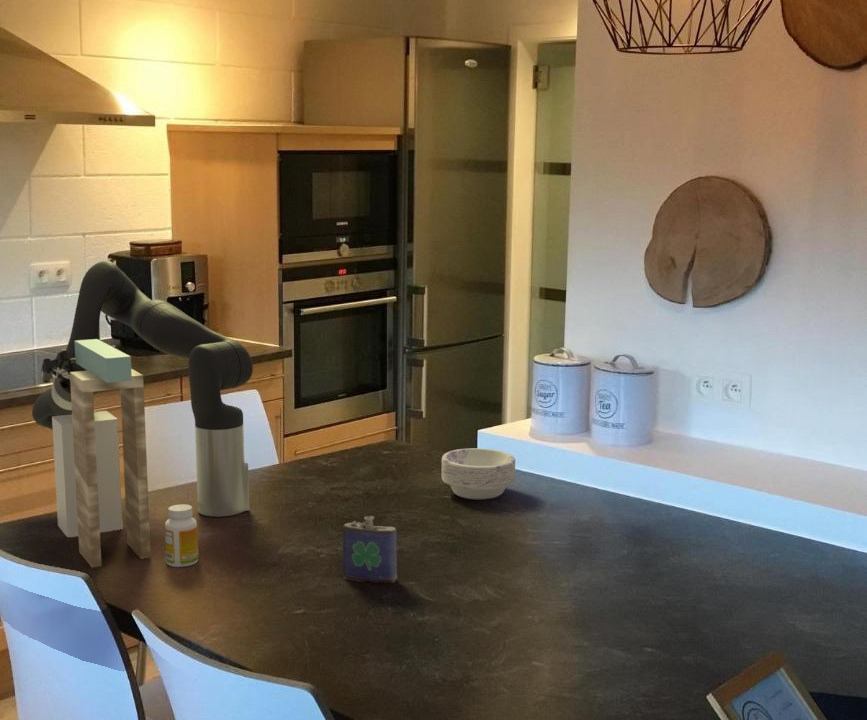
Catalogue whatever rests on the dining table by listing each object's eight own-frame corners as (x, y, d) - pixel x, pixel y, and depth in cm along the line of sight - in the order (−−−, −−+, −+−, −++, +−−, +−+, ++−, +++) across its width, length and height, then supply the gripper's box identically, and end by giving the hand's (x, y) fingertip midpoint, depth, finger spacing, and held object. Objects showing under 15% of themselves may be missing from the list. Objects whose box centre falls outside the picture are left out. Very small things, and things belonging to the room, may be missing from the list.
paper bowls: (517, 504, 226) (517, 466, 225) (441, 504, 227) (441, 465, 225) (512, 483, 241) (513, 447, 240) (441, 483, 242) (441, 447, 240)
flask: (398, 579, 185) (398, 516, 183) (393, 585, 182) (392, 521, 181) (345, 573, 188) (344, 511, 186) (339, 579, 185) (338, 516, 183)
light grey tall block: (111, 517, 217) (106, 410, 214) (122, 529, 210) (117, 418, 207) (58, 525, 212) (51, 416, 209) (67, 537, 205) (61, 424, 202)
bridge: (136, 542, 203) (128, 367, 197) (150, 557, 195) (143, 375, 190) (79, 552, 198) (69, 372, 192) (91, 567, 190) (82, 380, 185)
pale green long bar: (98, 360, 204) (97, 339, 203) (131, 380, 185) (130, 356, 184) (75, 362, 202) (74, 340, 201) (107, 382, 183) (106, 358, 182)
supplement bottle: (202, 557, 195) (200, 503, 194) (192, 568, 190) (190, 512, 188) (172, 556, 196) (170, 502, 194) (161, 567, 190) (159, 511, 189)
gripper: (32, 369, 211) (45, 335, 197) (109, 363, 218) (126, 330, 204) (38, 407, 209) (51, 375, 195) (115, 399, 216) (134, 368, 202)
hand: (90, 352), depth 200 cm, fingers open, 8 cm apart
